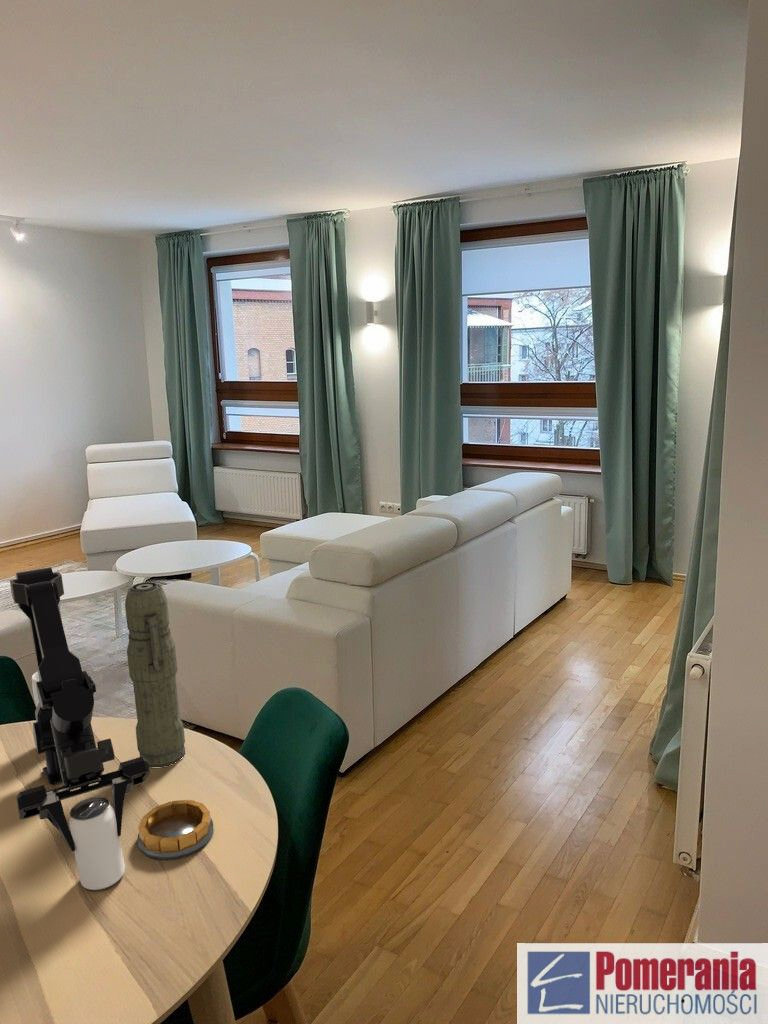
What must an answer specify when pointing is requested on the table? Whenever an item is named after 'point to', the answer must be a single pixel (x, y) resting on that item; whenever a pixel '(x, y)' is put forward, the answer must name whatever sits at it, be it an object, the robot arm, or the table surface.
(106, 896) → the table surface
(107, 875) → the can
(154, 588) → the thermos
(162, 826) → the ring plate
